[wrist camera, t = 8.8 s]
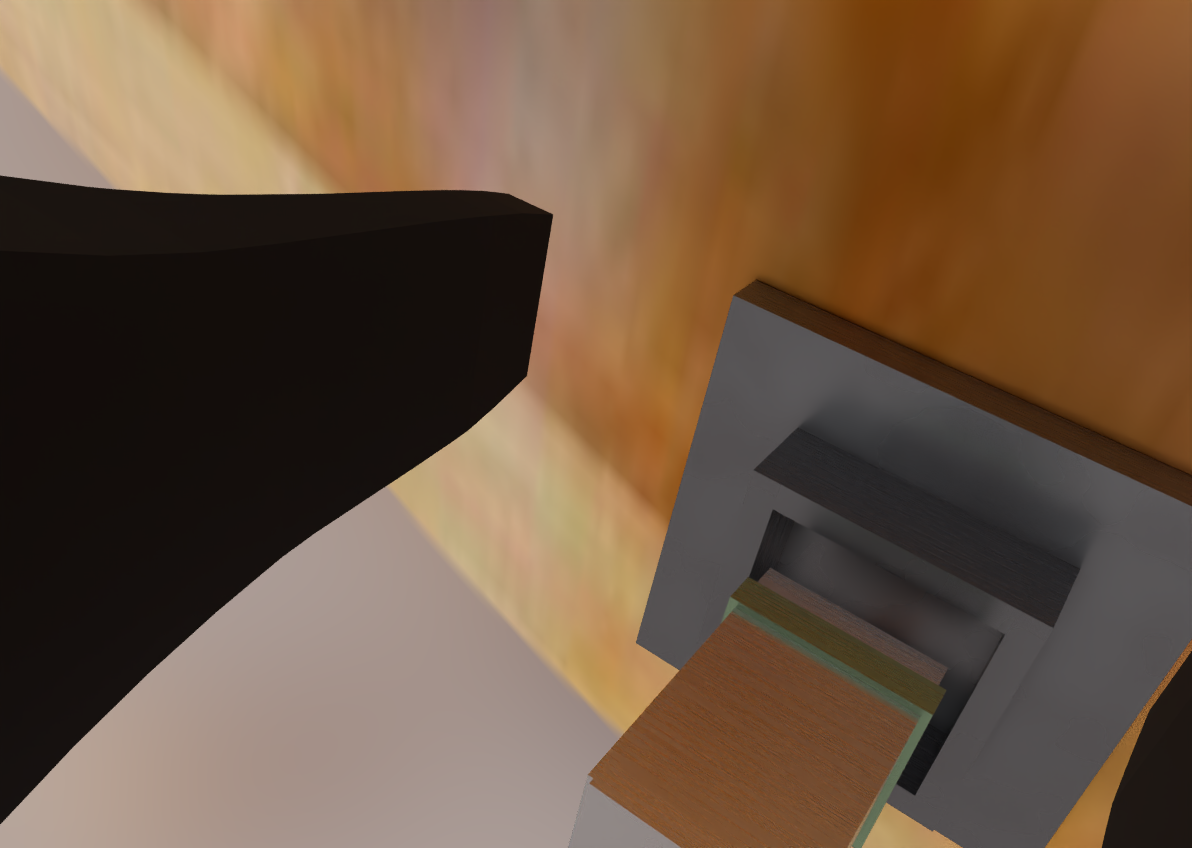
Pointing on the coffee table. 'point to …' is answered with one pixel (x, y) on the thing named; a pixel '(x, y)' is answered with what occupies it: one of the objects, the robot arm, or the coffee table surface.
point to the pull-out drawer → (767, 733)
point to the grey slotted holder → (936, 553)
